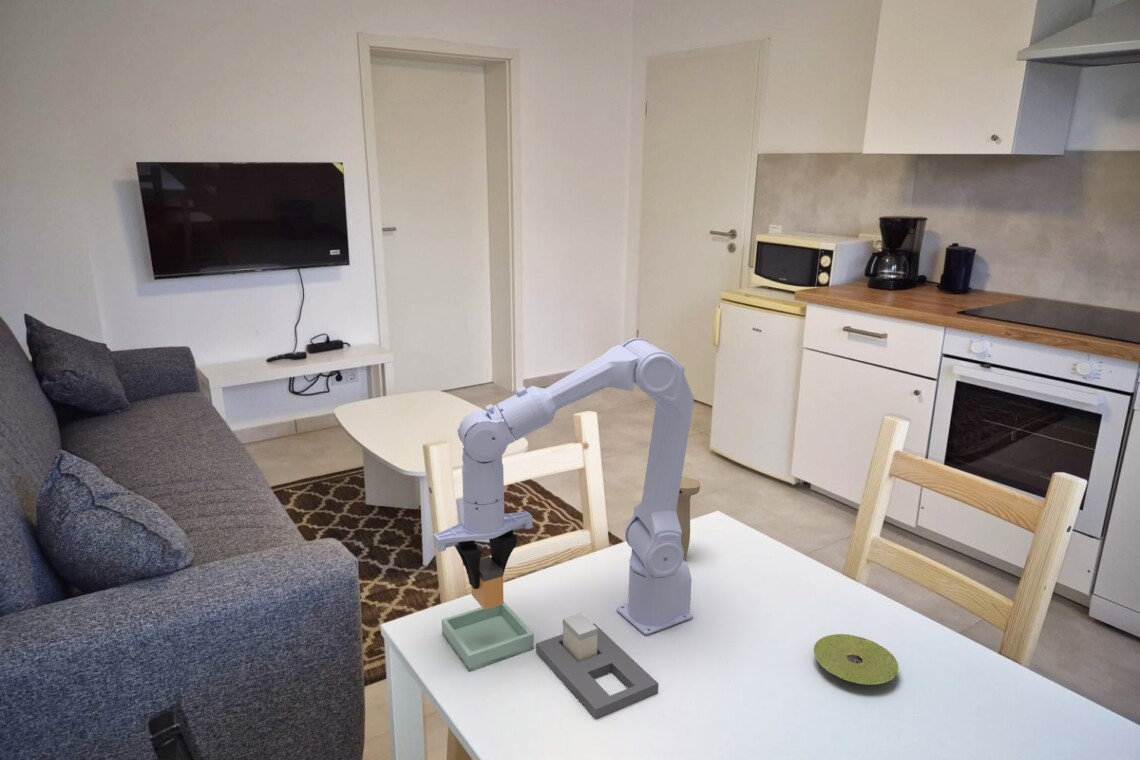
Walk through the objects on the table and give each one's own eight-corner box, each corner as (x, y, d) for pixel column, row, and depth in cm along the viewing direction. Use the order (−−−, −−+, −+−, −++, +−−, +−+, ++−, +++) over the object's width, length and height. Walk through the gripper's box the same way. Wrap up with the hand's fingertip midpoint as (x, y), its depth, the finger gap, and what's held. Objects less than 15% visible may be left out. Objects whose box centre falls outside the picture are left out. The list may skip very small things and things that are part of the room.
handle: (694, 567, 132) (699, 489, 128) (658, 563, 134) (661, 486, 130) (696, 554, 137) (700, 478, 133) (661, 550, 138) (664, 475, 134)
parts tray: (503, 614, 118) (502, 600, 117) (533, 648, 110) (533, 634, 109) (442, 633, 113) (441, 619, 112) (469, 671, 105) (468, 656, 104)
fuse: (580, 645, 111) (580, 612, 109) (596, 661, 107) (597, 628, 106) (562, 651, 109) (562, 618, 108) (579, 668, 106) (579, 634, 104)
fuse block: (593, 631, 114) (594, 623, 113) (658, 692, 101) (658, 683, 100) (536, 652, 109) (536, 643, 108) (595, 719, 96) (595, 709, 95)
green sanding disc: (835, 635, 113) (836, 624, 113) (910, 669, 106) (912, 657, 105) (797, 668, 106) (798, 656, 105) (875, 708, 98) (877, 695, 98)
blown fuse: (490, 589, 112) (489, 556, 110) (503, 604, 108) (502, 569, 106) (471, 595, 110) (470, 561, 109) (484, 609, 106) (483, 575, 105)
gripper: (516, 476, 112) (517, 557, 116) (424, 496, 105) (428, 582, 108) (539, 493, 106) (539, 578, 110) (443, 516, 99) (446, 606, 103)
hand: (485, 582), depth 109 cm, fingers closed on blown fuse, 3 cm apart
